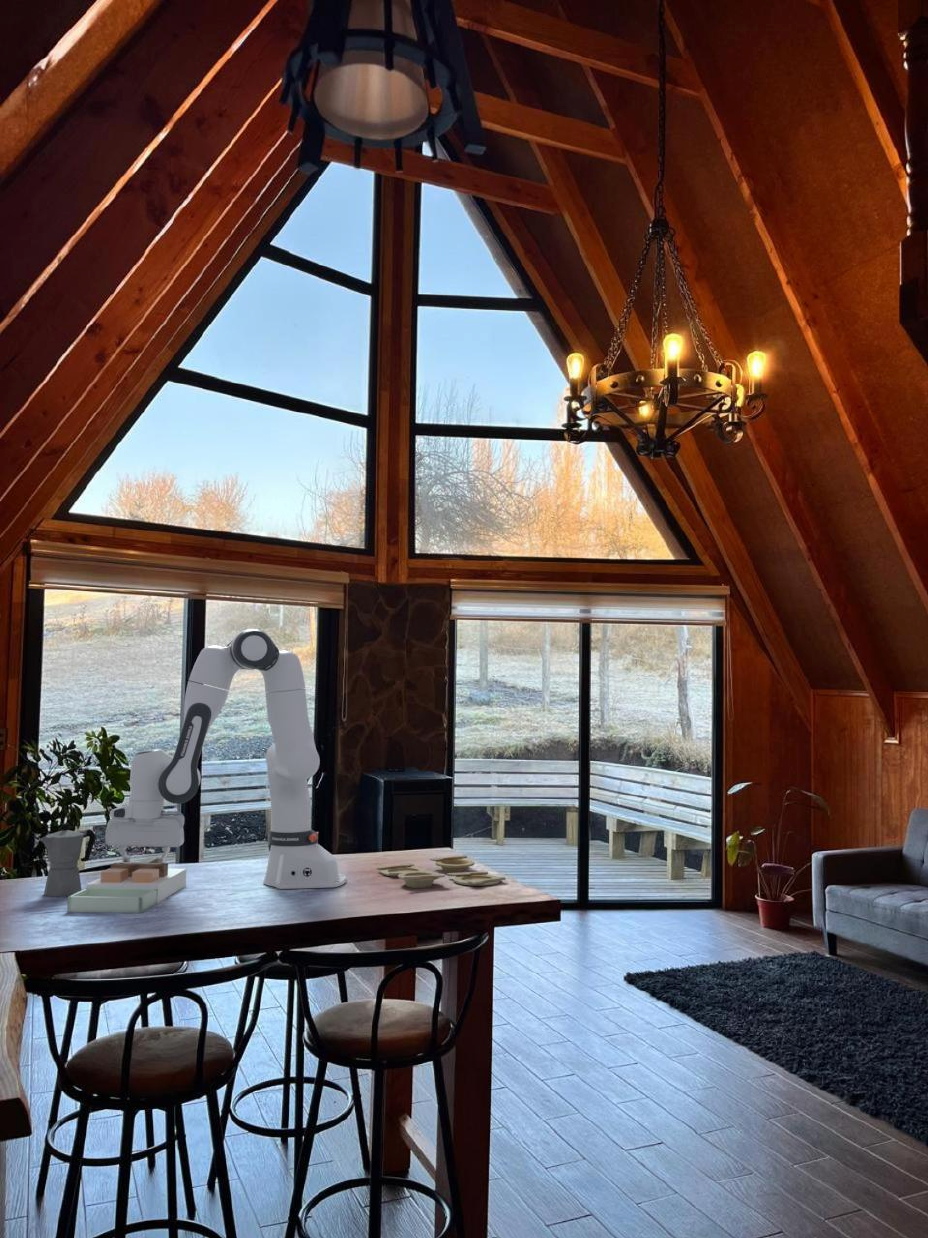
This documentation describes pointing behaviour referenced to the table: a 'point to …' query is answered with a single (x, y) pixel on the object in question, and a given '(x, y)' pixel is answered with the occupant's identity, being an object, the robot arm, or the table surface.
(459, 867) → the tableware set
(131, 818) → the robot arm
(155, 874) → the tile
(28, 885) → the table surface
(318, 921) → the table surface
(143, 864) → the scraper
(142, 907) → the box
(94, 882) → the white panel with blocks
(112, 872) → the tile
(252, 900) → the table surface
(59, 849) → the coffeepot
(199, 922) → the table surface
